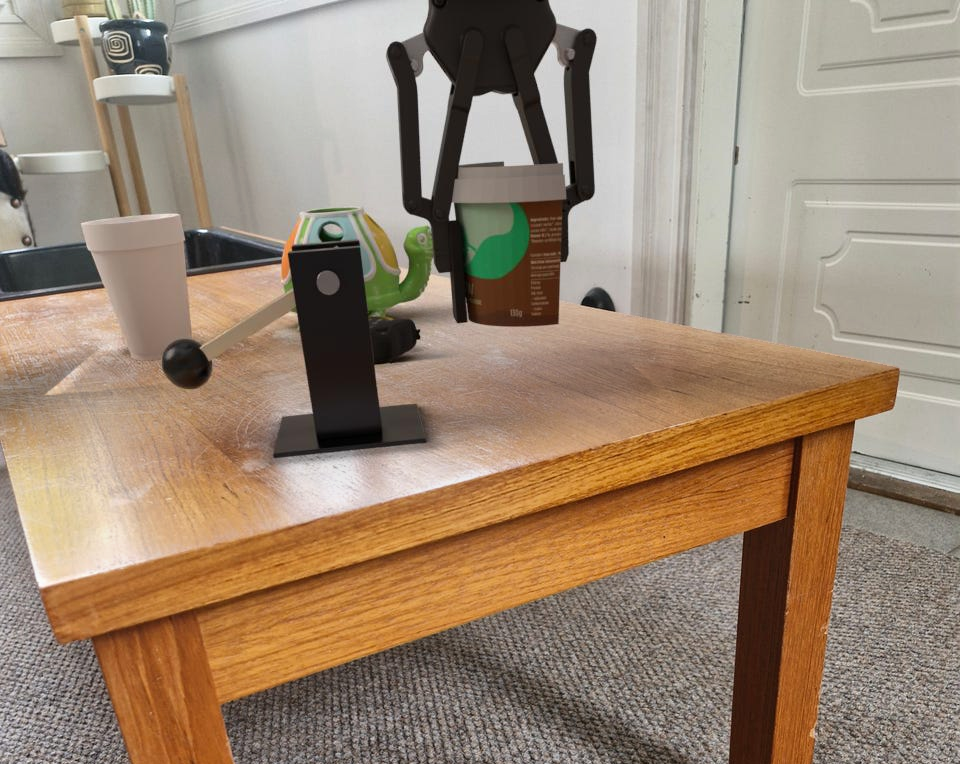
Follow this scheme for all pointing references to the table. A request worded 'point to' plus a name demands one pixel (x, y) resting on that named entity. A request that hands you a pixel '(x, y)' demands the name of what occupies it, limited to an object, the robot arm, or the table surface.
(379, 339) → the tape measure
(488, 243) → the food container
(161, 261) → the foam cup
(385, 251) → the turtle holder
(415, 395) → the table surface
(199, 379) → the lever
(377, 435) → the bracket
